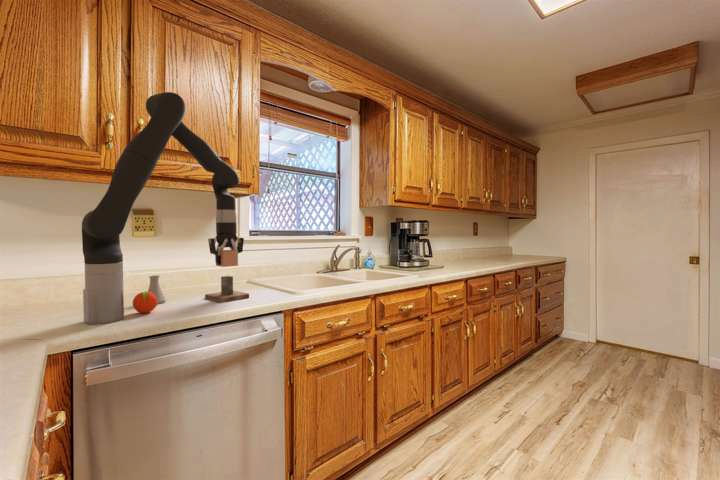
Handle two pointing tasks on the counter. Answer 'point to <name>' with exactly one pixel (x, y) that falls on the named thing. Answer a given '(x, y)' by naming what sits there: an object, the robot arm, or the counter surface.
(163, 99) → the robot arm
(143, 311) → the red tomato
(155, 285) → the flask
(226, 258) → the collar
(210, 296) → the post base
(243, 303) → the counter surface
